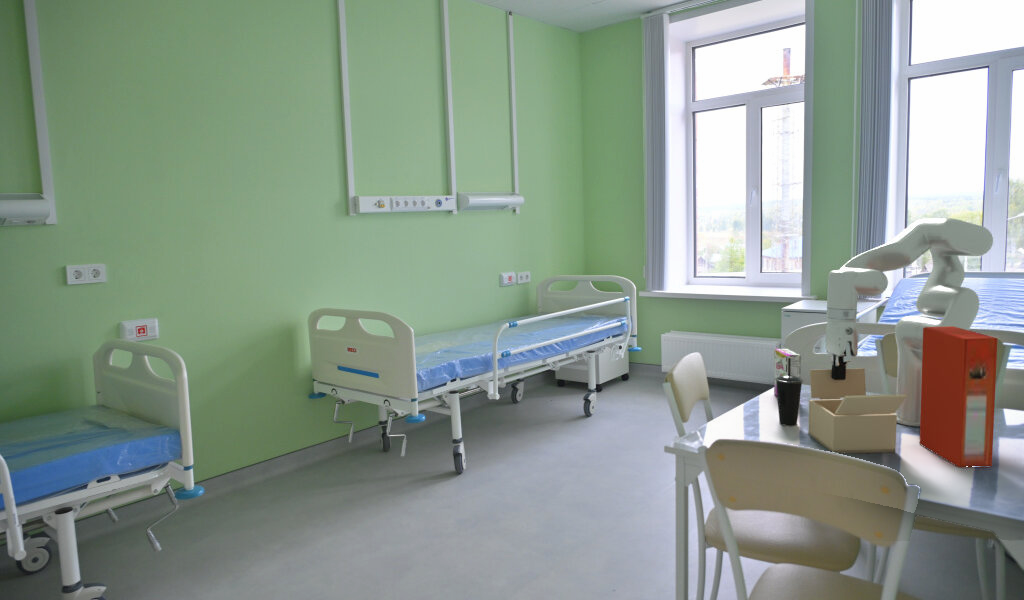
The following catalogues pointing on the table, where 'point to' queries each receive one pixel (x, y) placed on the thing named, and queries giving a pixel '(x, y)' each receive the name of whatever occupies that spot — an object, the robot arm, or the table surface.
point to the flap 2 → (870, 404)
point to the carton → (851, 429)
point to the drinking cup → (788, 397)
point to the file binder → (958, 395)
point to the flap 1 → (837, 384)
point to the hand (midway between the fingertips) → (838, 379)
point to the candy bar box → (785, 364)
